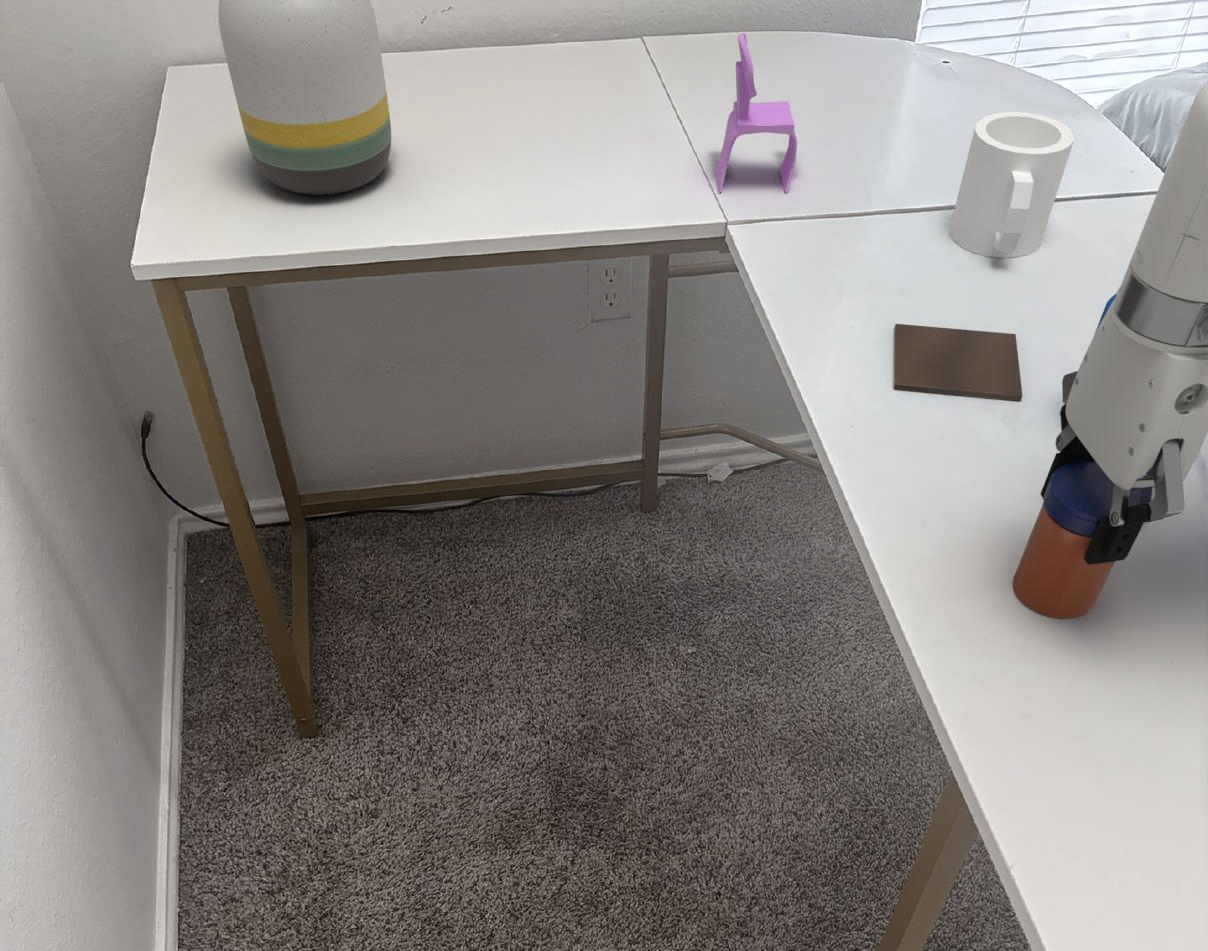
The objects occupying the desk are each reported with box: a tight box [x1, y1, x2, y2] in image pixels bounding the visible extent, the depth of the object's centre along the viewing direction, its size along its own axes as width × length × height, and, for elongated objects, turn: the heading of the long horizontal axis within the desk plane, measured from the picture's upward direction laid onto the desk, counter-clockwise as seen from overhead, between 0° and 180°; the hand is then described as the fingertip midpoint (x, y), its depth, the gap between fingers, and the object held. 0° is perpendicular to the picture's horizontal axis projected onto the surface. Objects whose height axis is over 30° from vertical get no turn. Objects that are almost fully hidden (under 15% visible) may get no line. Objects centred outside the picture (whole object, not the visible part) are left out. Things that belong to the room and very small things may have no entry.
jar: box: [1011, 501, 1117, 619], centre depth 84 cm, size 7×7×9 cm
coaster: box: [893, 323, 1023, 402], centre depth 107 cm, size 12×11×1 cm
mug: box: [949, 111, 1075, 259], centre depth 118 cm, size 14×10×11 cm
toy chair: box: [714, 32, 798, 194], centre depth 125 cm, size 8×9×15 cm
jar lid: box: [1043, 461, 1142, 537], centre depth 81 cm, size 7×7×2 cm
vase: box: [217, 0, 392, 196], centre depth 122 cm, size 17×17×24 cm
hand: (1081, 525), depth 83 cm, fingers closed on jar lid, 6 cm apart
